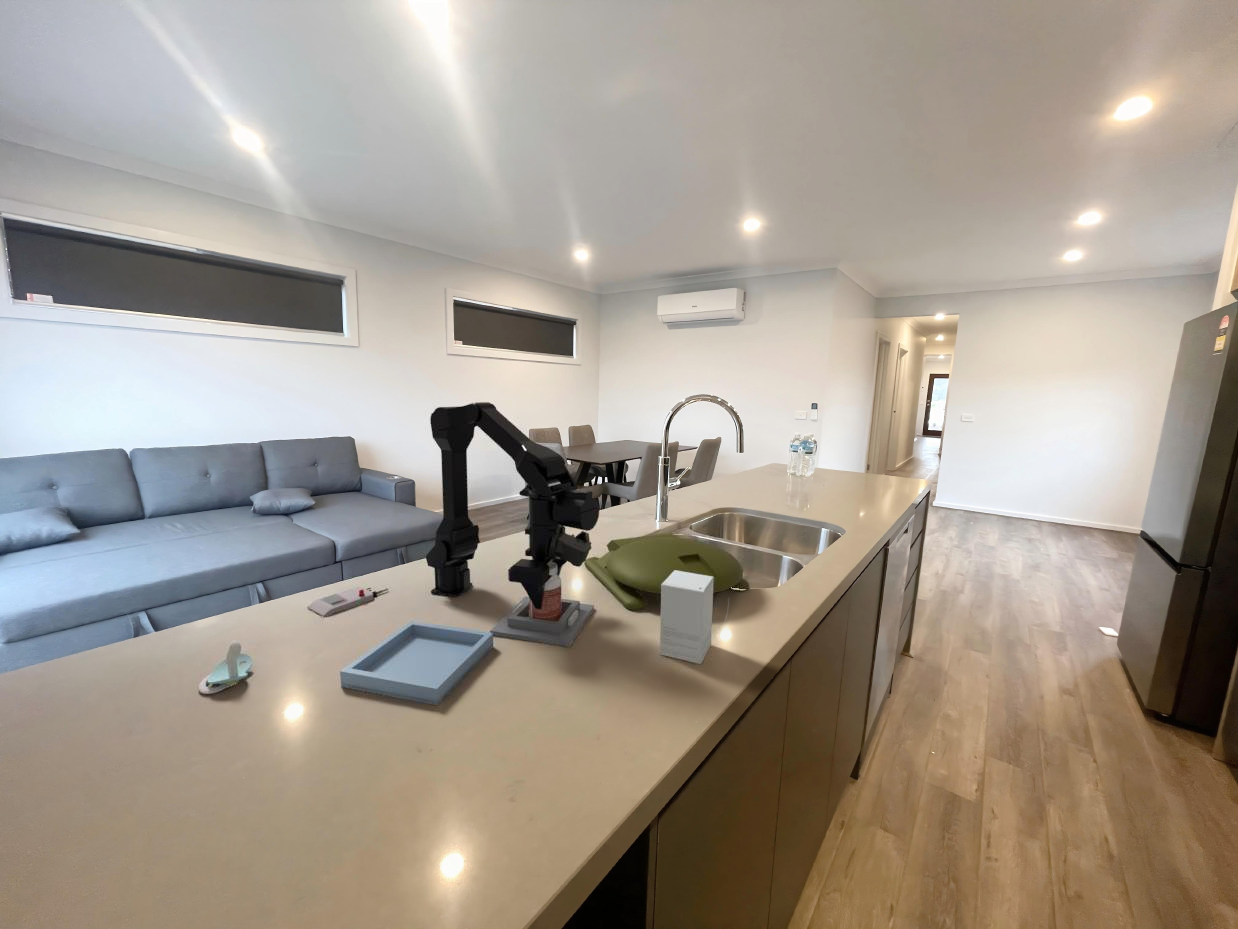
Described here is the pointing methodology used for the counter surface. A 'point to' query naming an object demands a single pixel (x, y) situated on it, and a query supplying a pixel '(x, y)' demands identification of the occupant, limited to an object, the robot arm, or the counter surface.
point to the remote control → (342, 600)
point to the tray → (418, 662)
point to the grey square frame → (544, 623)
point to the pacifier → (227, 670)
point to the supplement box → (686, 616)
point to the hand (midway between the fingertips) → (545, 601)
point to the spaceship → (661, 566)
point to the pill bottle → (549, 598)
